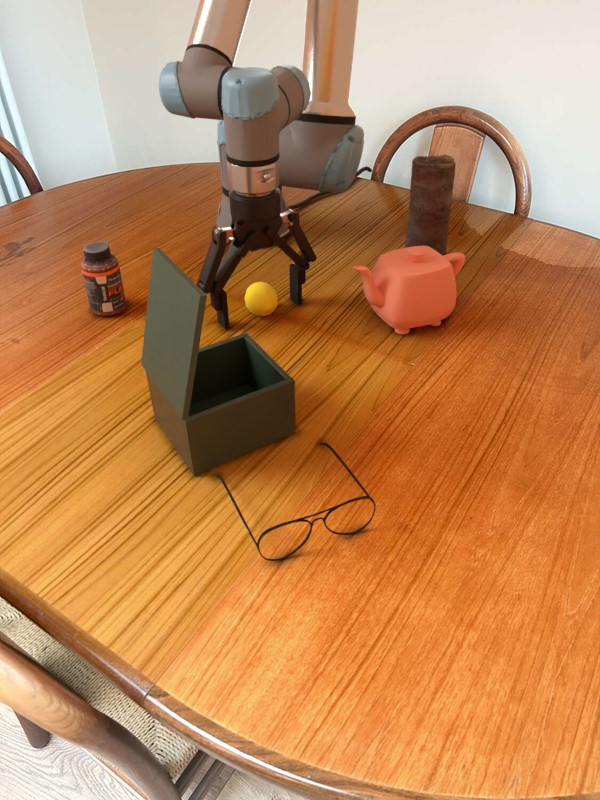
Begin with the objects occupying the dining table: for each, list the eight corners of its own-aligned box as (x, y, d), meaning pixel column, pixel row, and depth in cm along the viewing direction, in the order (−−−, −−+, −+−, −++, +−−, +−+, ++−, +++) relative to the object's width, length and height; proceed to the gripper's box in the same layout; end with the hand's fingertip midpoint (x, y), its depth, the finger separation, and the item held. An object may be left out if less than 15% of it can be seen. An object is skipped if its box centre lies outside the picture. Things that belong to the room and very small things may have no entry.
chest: (250, 383, 94) (246, 332, 89) (295, 433, 86) (294, 380, 80) (154, 419, 88) (144, 366, 83) (194, 476, 80) (185, 422, 75)
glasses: (259, 569, 70) (254, 535, 67) (217, 486, 81) (212, 454, 78) (377, 526, 74) (377, 492, 71) (322, 453, 86) (320, 422, 83)
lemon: (284, 319, 107) (284, 290, 104) (254, 327, 106) (252, 298, 102) (268, 299, 112) (267, 271, 109) (239, 306, 111) (236, 277, 107)
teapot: (436, 288, 115) (446, 224, 107) (476, 322, 106) (489, 254, 99) (333, 313, 109) (335, 246, 101) (367, 351, 100) (372, 281, 92)
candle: (397, 271, 119) (408, 161, 107) (407, 254, 125) (419, 147, 112) (439, 279, 117) (454, 167, 104) (447, 261, 122) (463, 152, 110)
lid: (159, 247, 75) (152, 247, 74) (207, 295, 67) (200, 295, 66) (146, 363, 83) (140, 364, 82) (188, 419, 74) (181, 420, 74)
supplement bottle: (118, 319, 108) (105, 257, 100) (85, 316, 109) (69, 253, 101) (132, 301, 112) (120, 239, 105) (100, 297, 113) (86, 236, 106)
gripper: (186, 215, 88) (201, 346, 101) (340, 178, 98) (335, 302, 111) (164, 197, 93) (181, 324, 106) (313, 164, 103) (311, 283, 116)
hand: (260, 313), depth 109 cm, fingers open, 13 cm apart
